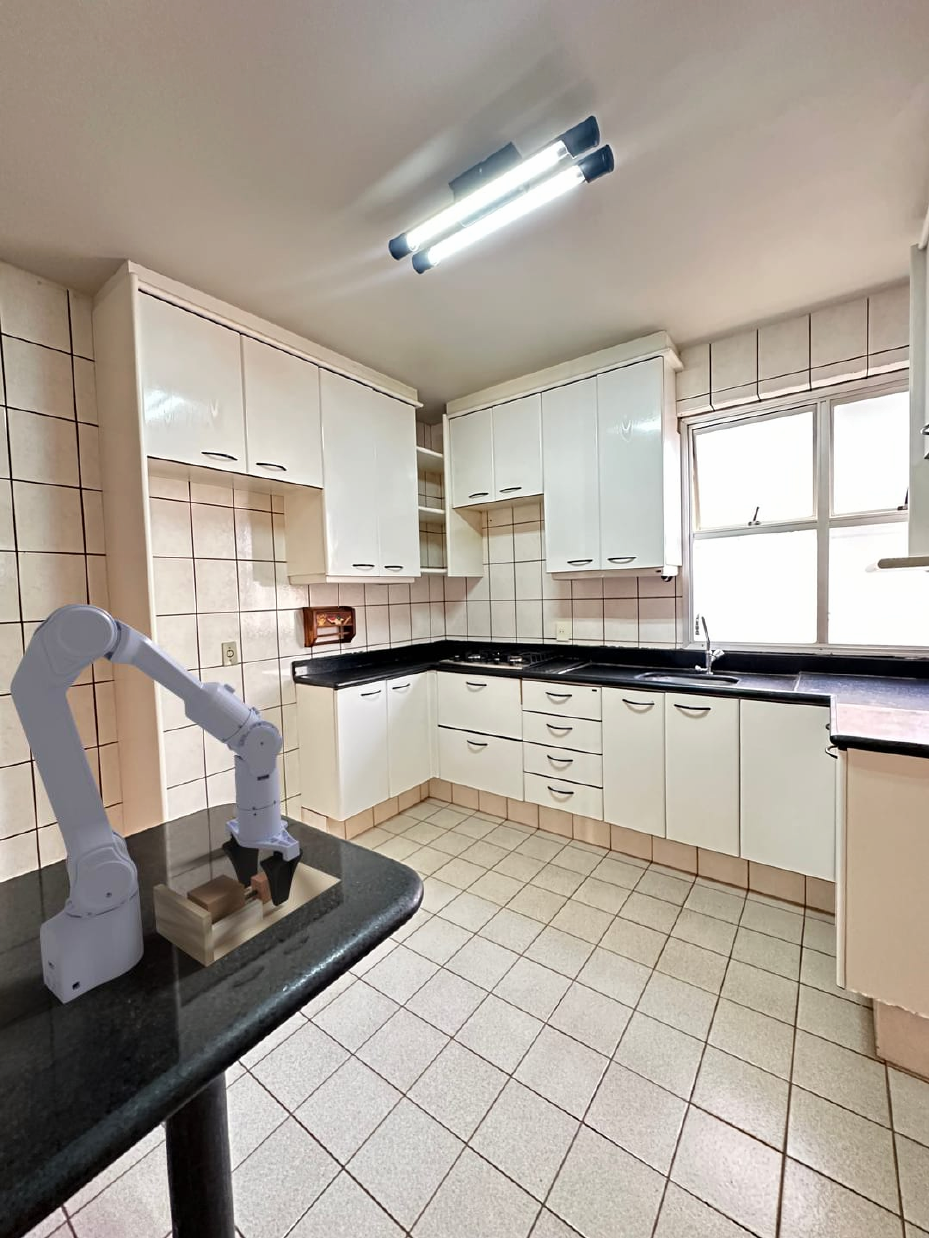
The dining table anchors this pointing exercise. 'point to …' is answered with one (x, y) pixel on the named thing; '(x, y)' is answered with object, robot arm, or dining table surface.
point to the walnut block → (228, 895)
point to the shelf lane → (212, 942)
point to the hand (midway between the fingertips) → (264, 893)
